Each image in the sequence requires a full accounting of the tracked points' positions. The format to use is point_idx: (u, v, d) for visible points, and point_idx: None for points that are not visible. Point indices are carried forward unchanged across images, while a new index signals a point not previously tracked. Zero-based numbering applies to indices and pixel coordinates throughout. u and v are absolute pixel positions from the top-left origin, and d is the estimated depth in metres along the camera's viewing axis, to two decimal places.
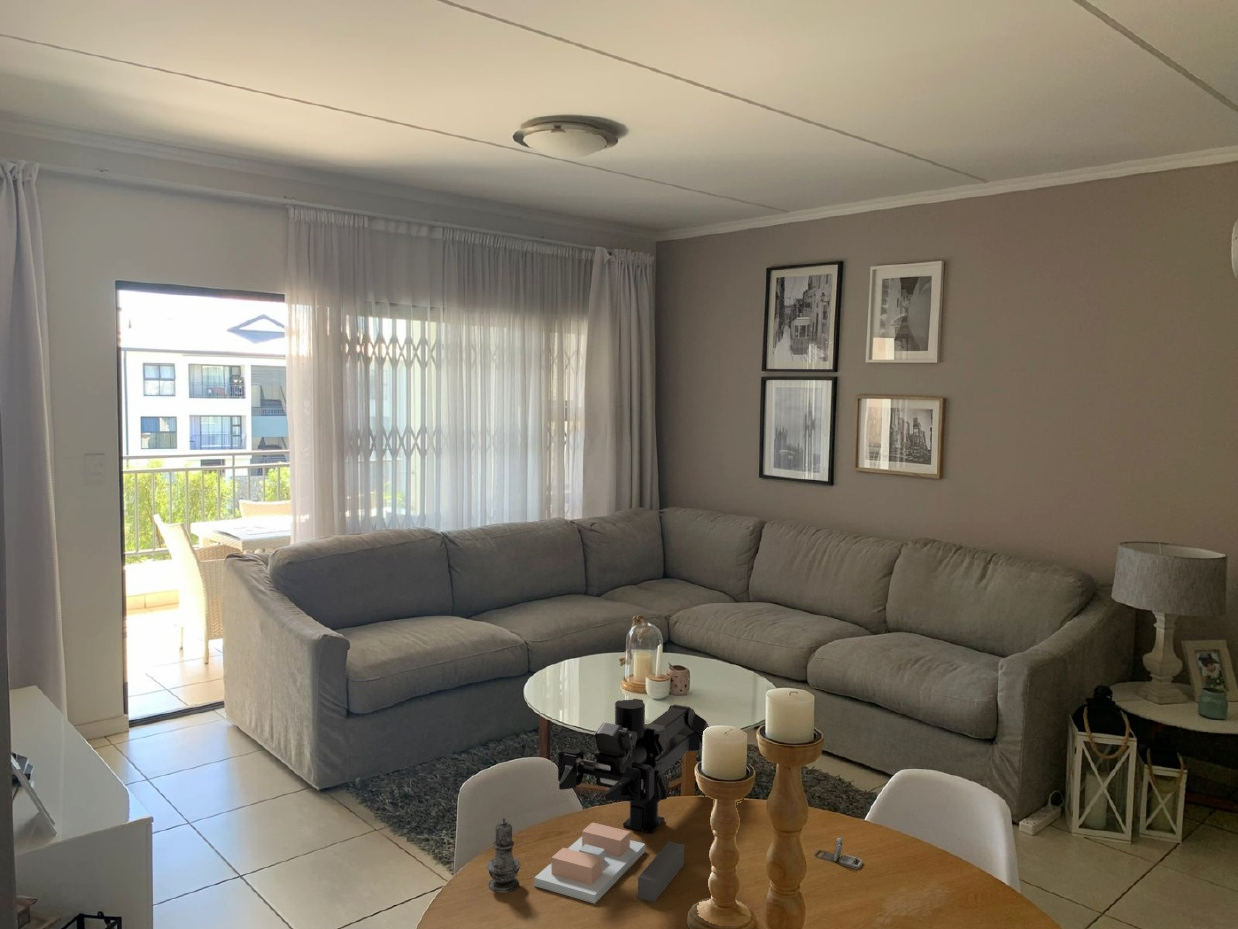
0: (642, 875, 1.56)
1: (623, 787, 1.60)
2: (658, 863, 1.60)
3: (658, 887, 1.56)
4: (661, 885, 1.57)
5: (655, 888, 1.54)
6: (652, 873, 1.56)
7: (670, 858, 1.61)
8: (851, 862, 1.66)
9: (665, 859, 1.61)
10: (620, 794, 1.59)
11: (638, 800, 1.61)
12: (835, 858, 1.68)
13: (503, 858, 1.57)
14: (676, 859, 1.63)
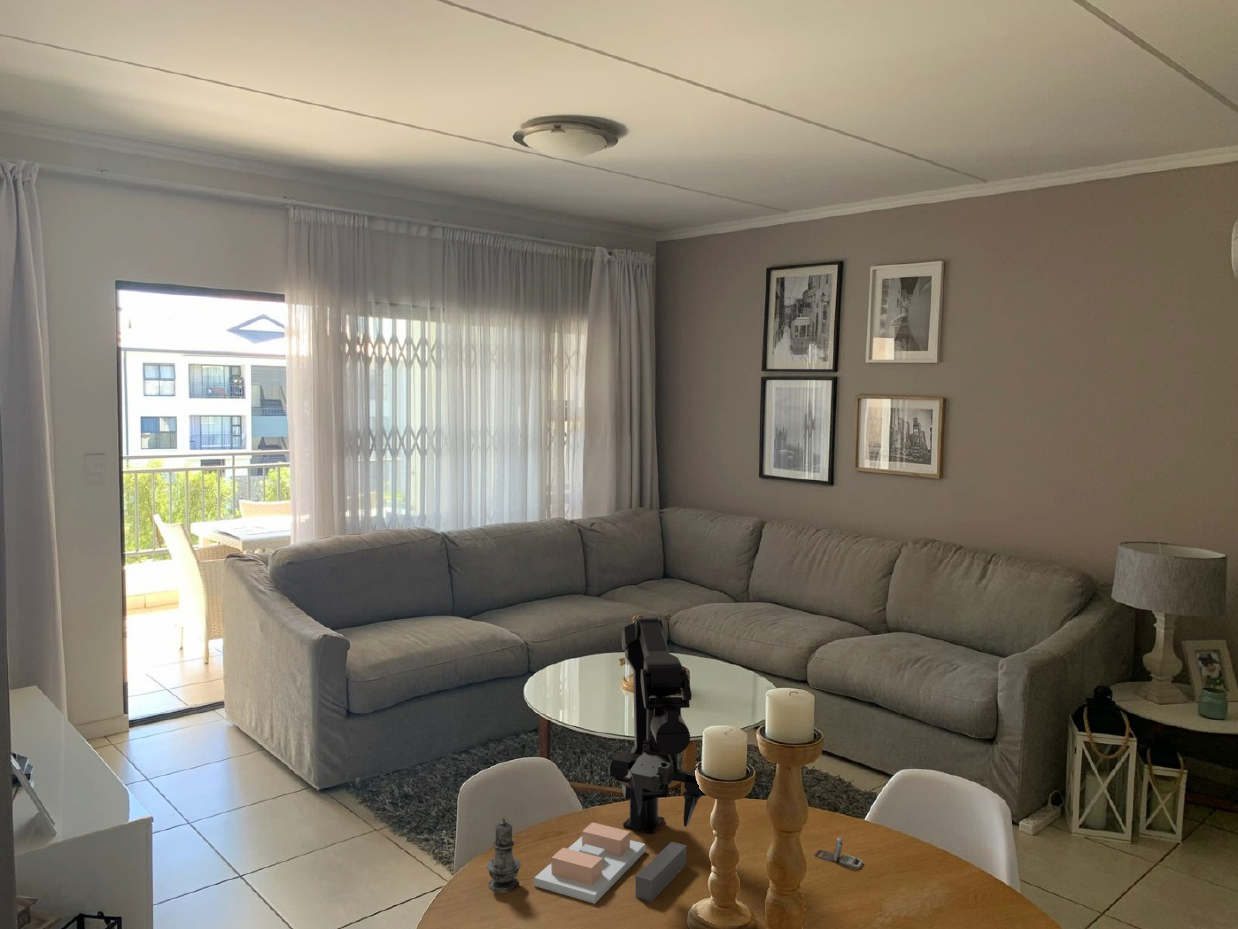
0: (640, 874, 1.56)
1: None
2: (657, 863, 1.60)
3: (656, 886, 1.56)
4: (659, 885, 1.57)
5: (653, 888, 1.54)
6: (650, 873, 1.56)
7: (671, 858, 1.61)
8: (851, 862, 1.66)
9: (665, 859, 1.61)
10: (693, 807, 1.58)
11: None
12: (835, 858, 1.68)
13: (503, 858, 1.57)
14: (676, 860, 1.63)
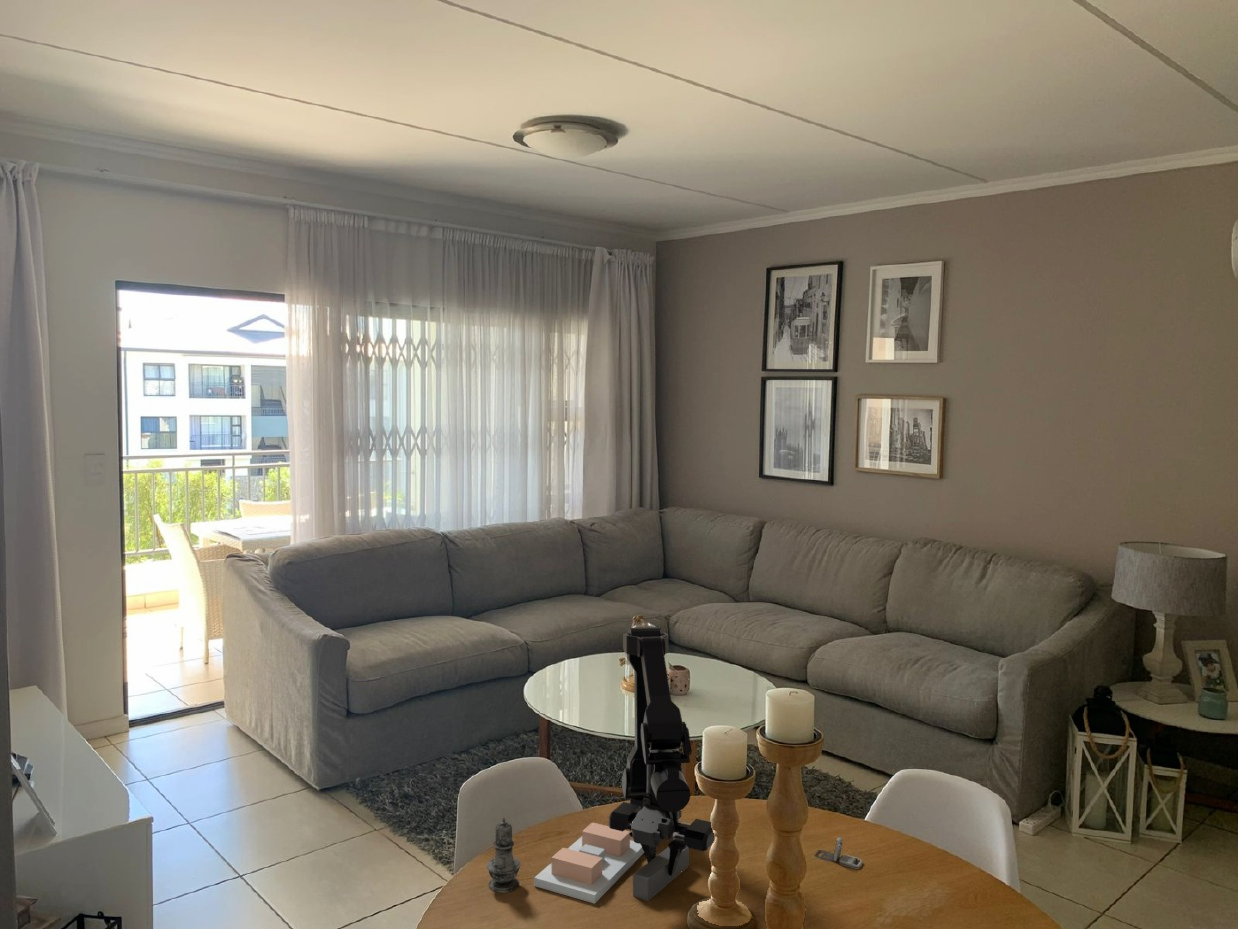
0: (637, 873, 1.56)
1: None
2: (657, 862, 1.60)
3: (654, 885, 1.56)
4: (657, 884, 1.57)
5: (649, 887, 1.55)
6: (647, 872, 1.56)
7: None
8: (851, 862, 1.66)
9: (665, 859, 1.61)
10: (678, 857, 1.60)
11: None
12: (835, 858, 1.68)
13: (503, 858, 1.57)
14: None
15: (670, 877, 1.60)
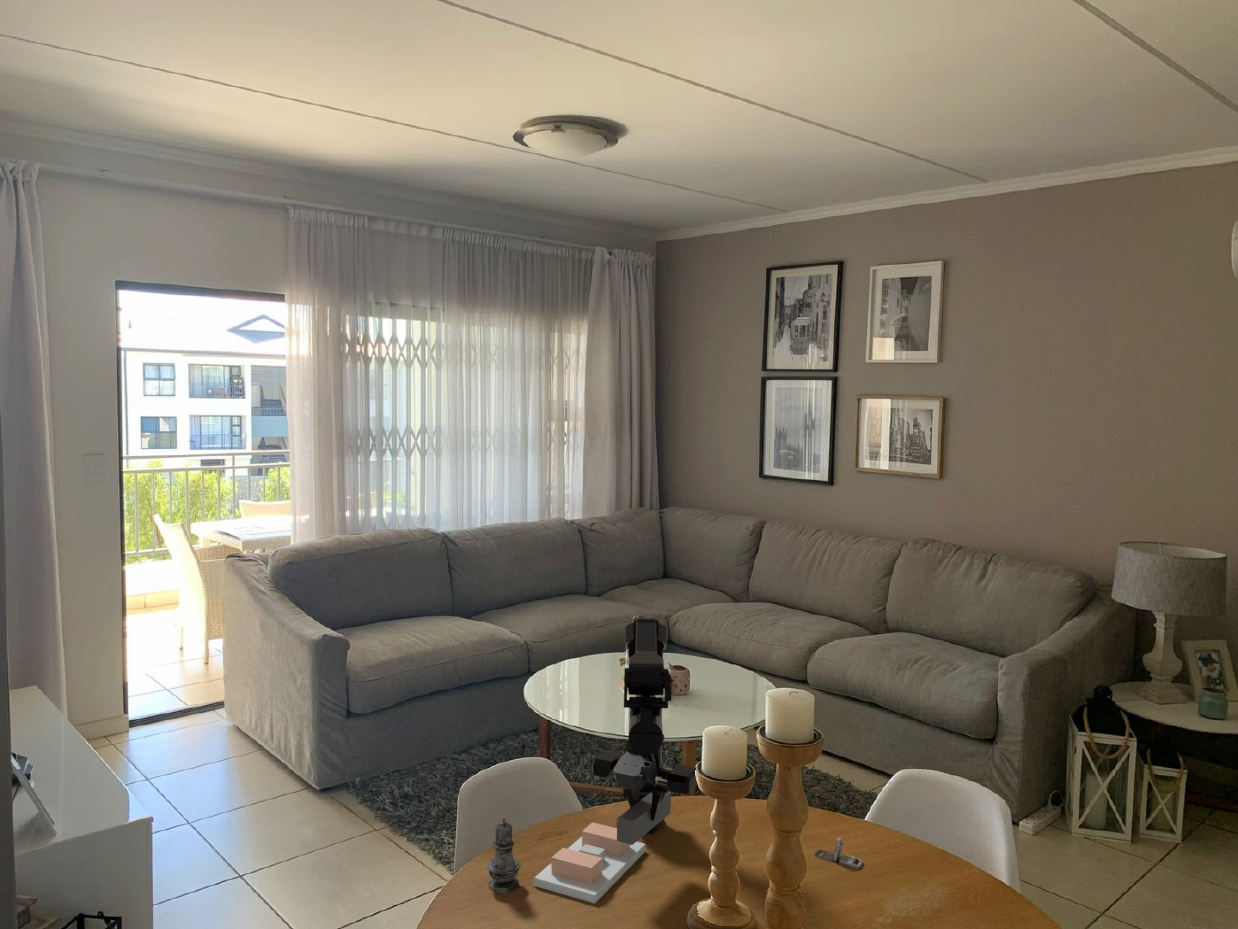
0: (621, 817, 1.56)
1: None
2: (640, 807, 1.60)
3: (637, 829, 1.56)
4: (641, 827, 1.57)
5: (633, 830, 1.55)
6: (631, 815, 1.57)
7: None
8: (851, 862, 1.66)
9: (648, 803, 1.61)
10: (661, 802, 1.60)
11: None
12: (835, 858, 1.68)
13: (503, 858, 1.57)
14: None
15: (653, 821, 1.61)
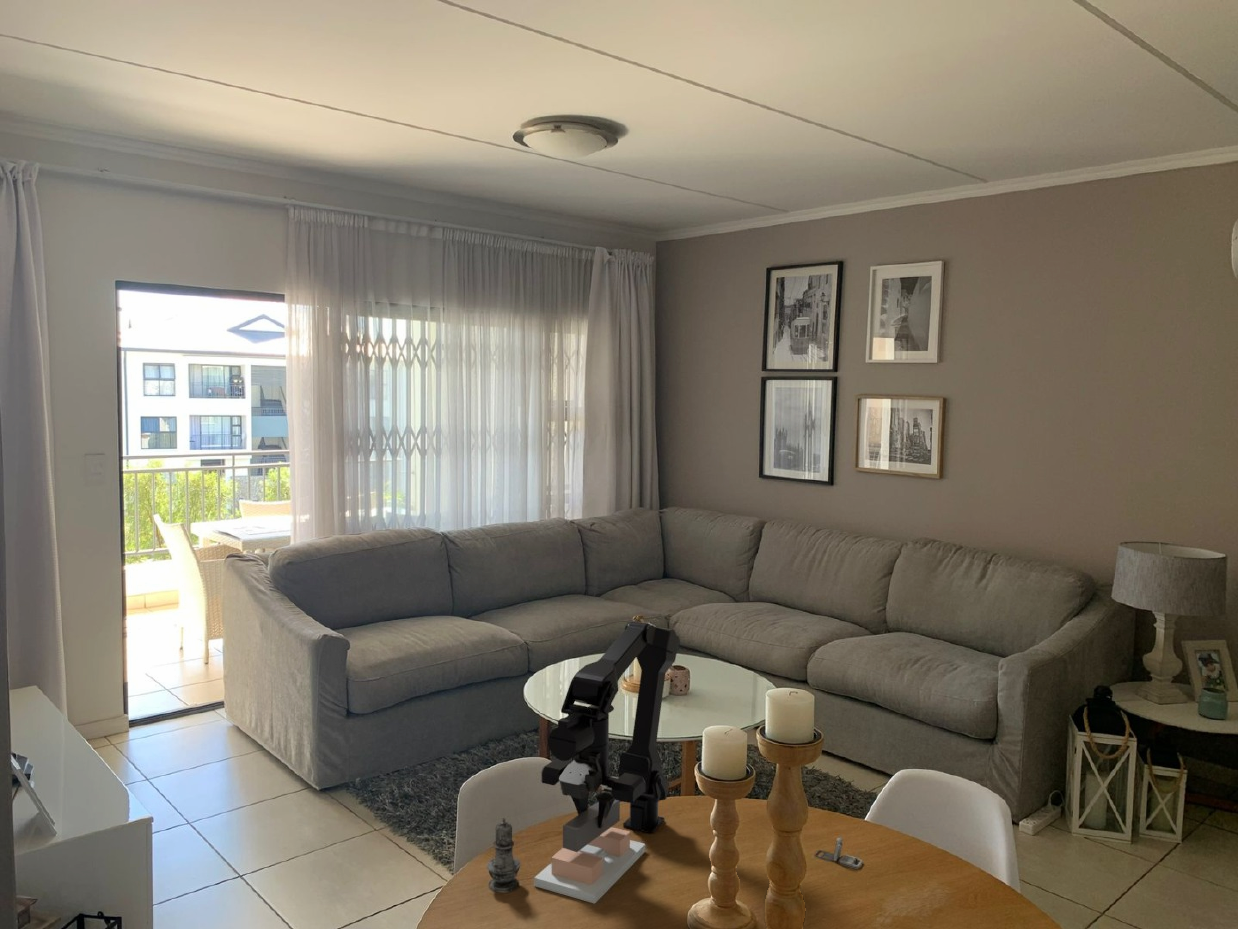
0: (567, 824, 1.60)
1: (606, 806, 1.63)
2: (587, 814, 1.63)
3: (583, 836, 1.59)
4: (587, 835, 1.60)
5: (578, 837, 1.58)
6: (577, 823, 1.60)
7: None
8: (851, 862, 1.67)
9: (595, 811, 1.65)
10: (607, 810, 1.63)
11: None
12: (835, 858, 1.68)
13: (503, 858, 1.57)
14: None
15: (600, 829, 1.64)
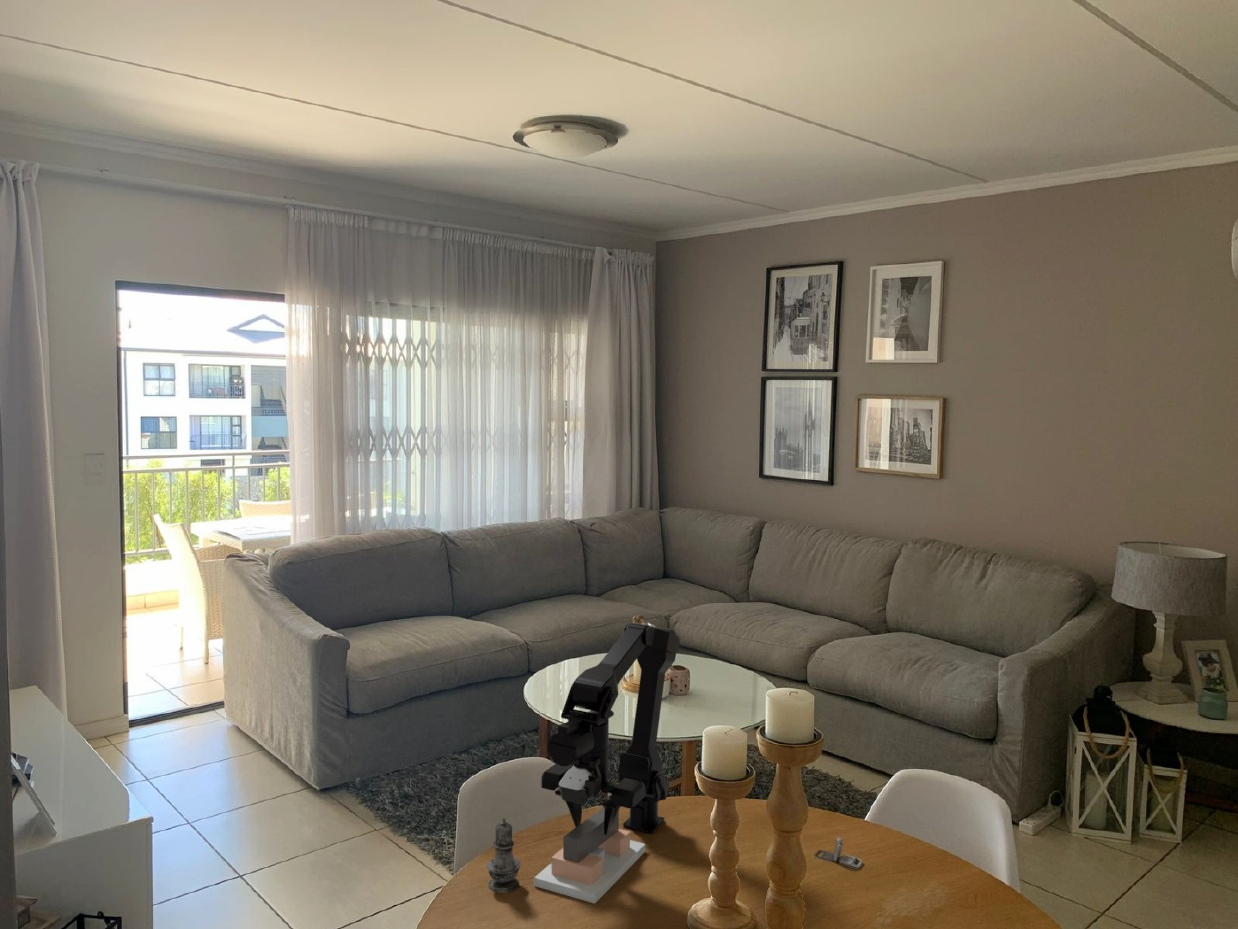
0: (568, 835, 1.60)
1: (611, 813, 1.62)
2: (587, 825, 1.63)
3: (583, 847, 1.59)
4: (587, 845, 1.60)
5: (579, 848, 1.58)
6: (578, 834, 1.60)
7: (601, 821, 1.65)
8: (851, 862, 1.66)
9: (595, 822, 1.65)
10: (613, 817, 1.63)
11: None
12: (835, 858, 1.68)
13: (503, 858, 1.57)
14: None
15: (600, 839, 1.64)
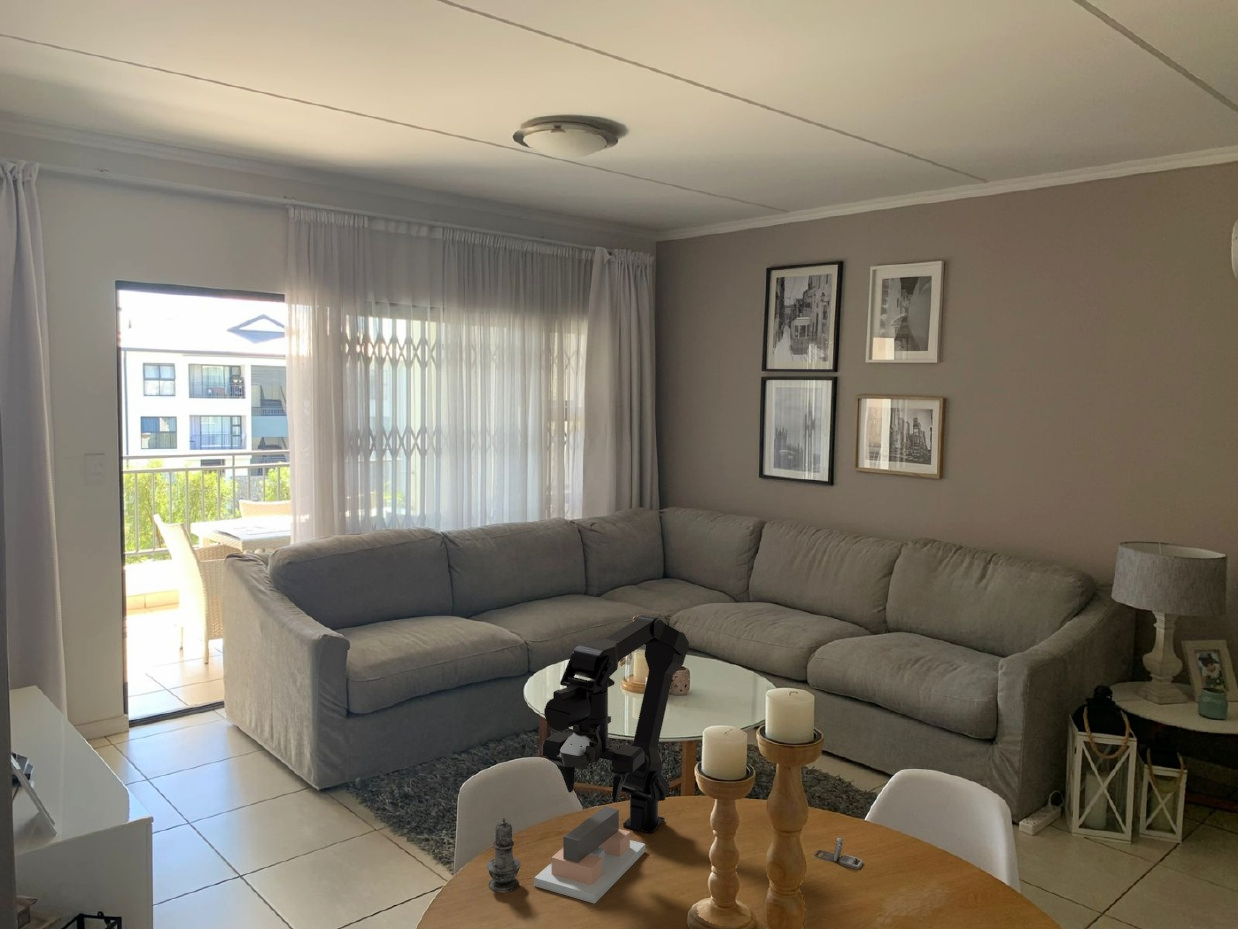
0: (568, 835, 1.60)
1: (620, 780, 1.65)
2: (587, 825, 1.63)
3: (583, 847, 1.59)
4: (587, 845, 1.60)
5: (579, 848, 1.58)
6: (578, 834, 1.60)
7: (601, 821, 1.65)
8: (851, 862, 1.67)
9: (595, 822, 1.65)
10: (621, 784, 1.65)
11: None
12: (835, 858, 1.68)
13: (503, 858, 1.57)
14: (607, 823, 1.66)
15: (600, 839, 1.64)
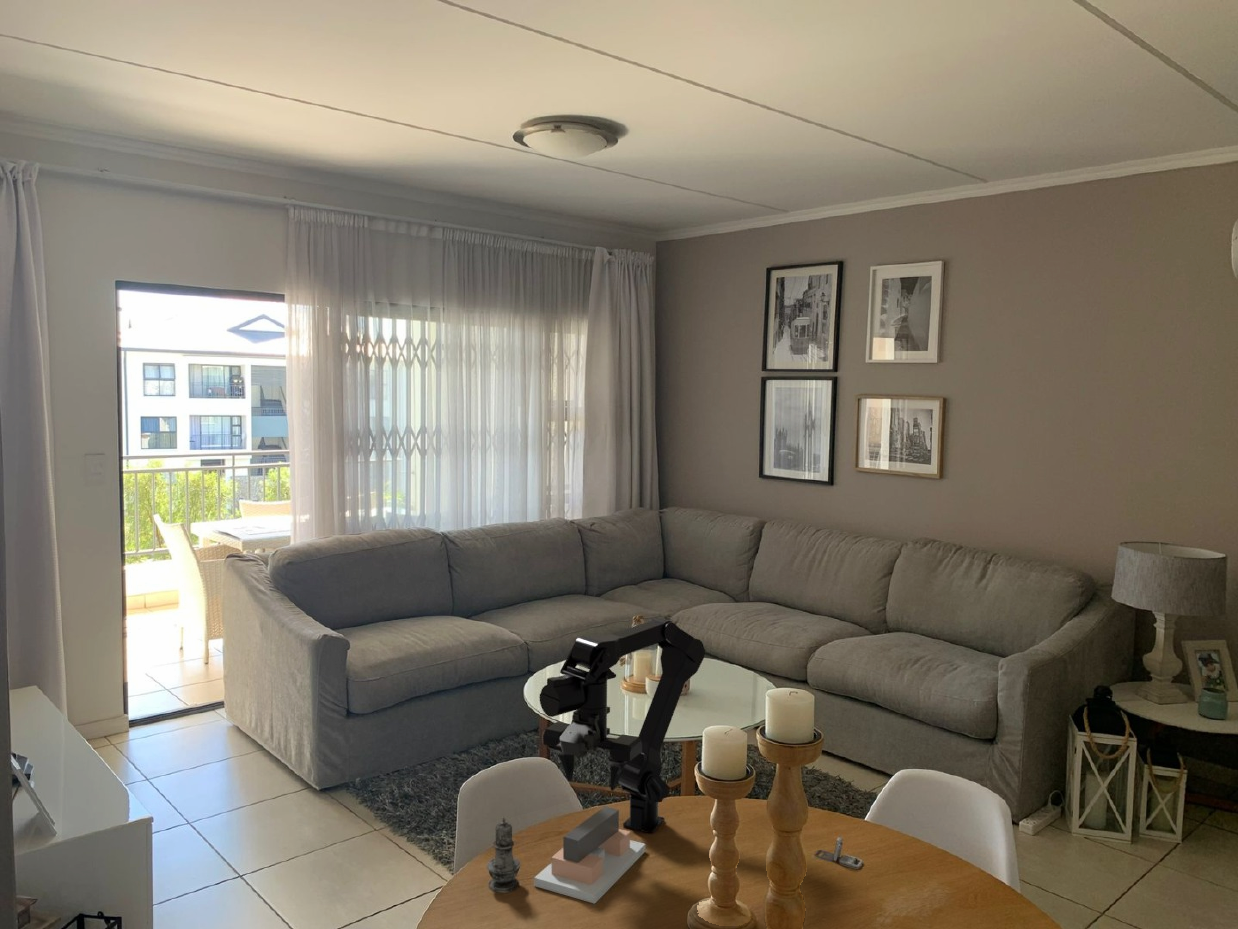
0: (568, 835, 1.60)
1: (617, 769, 1.69)
2: (587, 825, 1.63)
3: (583, 847, 1.59)
4: (587, 845, 1.60)
5: (579, 848, 1.58)
6: (578, 834, 1.60)
7: (601, 821, 1.65)
8: (851, 862, 1.67)
9: (595, 822, 1.65)
10: (619, 773, 1.70)
11: None
12: (835, 858, 1.68)
13: (503, 858, 1.57)
14: (607, 823, 1.66)
15: (600, 839, 1.64)
